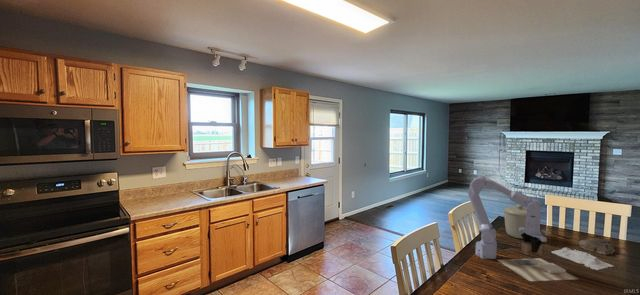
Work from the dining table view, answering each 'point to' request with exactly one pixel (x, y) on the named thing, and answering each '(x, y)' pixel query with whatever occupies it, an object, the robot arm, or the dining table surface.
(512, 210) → the canister
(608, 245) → the clay tablet
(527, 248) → the brown rectangular block
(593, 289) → the dining table surface
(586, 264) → the terrain model
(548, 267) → the tile
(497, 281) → the dining table surface
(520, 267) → the board
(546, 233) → the cleaver
